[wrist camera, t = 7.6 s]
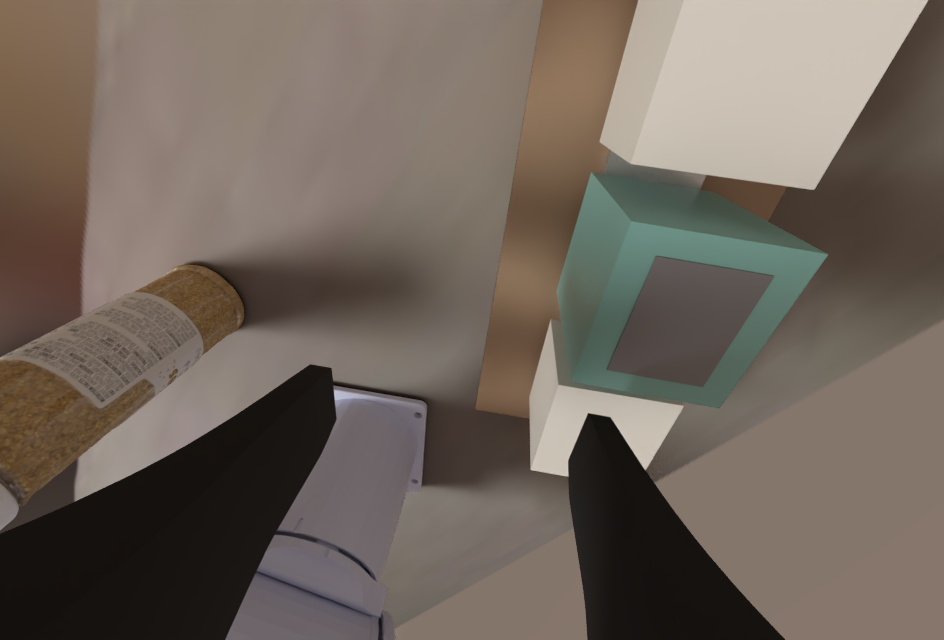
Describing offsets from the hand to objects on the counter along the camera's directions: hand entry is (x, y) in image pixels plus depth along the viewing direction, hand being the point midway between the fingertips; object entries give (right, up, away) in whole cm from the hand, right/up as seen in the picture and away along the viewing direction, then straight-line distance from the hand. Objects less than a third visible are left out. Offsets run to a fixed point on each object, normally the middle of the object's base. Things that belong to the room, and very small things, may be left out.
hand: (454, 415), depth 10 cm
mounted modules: (+7, +6, +5) cm, 10 cm away
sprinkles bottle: (-14, +4, +11) cm, 19 cm away
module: (+7, +6, +4) cm, 10 cm away
